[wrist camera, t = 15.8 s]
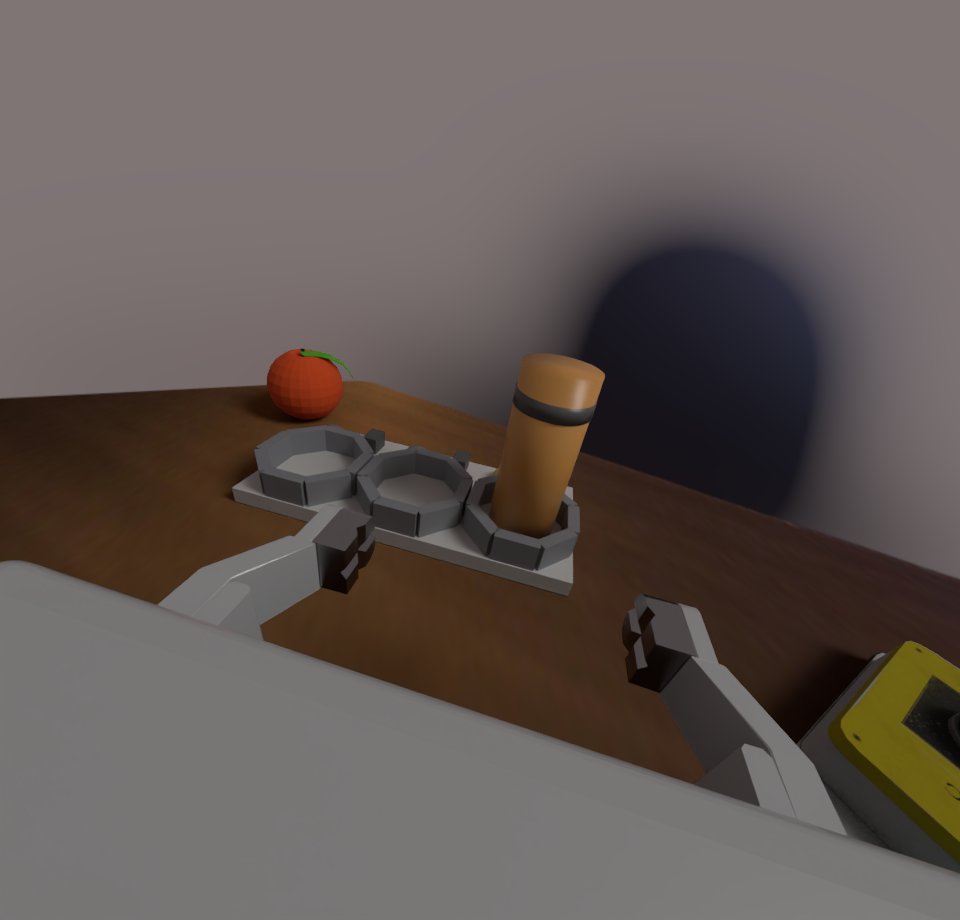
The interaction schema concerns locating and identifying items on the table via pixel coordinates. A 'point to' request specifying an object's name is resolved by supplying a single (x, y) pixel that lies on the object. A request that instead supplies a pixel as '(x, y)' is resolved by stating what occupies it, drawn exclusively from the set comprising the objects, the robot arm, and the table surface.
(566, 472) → the orange-brown tall cylinder
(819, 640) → the table surface
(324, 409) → the clementine
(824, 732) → the emergency button
